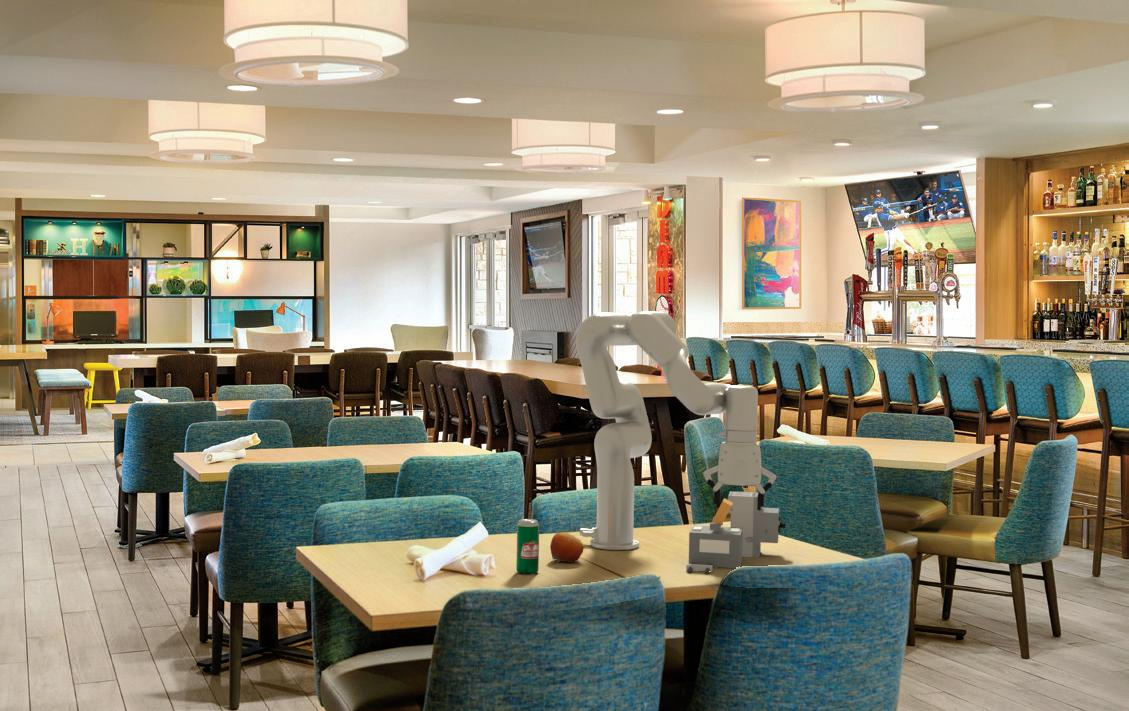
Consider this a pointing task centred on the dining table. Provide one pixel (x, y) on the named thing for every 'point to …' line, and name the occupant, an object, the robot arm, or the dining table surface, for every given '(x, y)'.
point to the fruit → (566, 547)
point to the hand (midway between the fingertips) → (738, 508)
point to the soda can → (527, 546)
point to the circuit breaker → (754, 522)
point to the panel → (716, 545)
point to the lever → (722, 512)
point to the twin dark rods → (698, 567)
